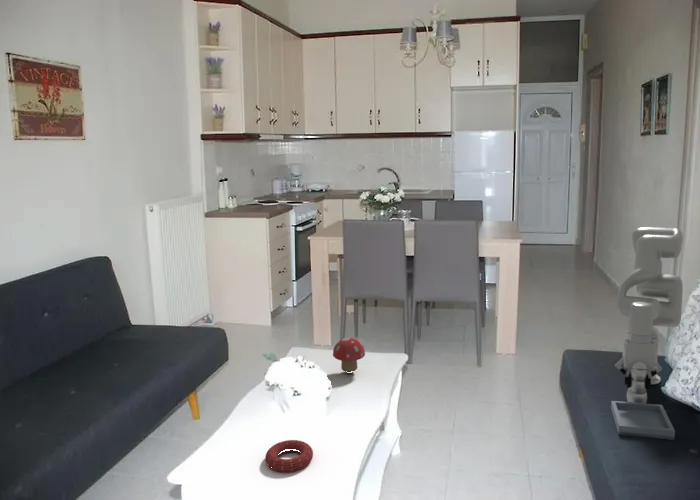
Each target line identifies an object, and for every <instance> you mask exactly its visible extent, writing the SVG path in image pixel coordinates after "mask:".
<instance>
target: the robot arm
mask: <svg viewBox="0 0 700 500" xmlns="http://www.w3.org/2000/svg"><path fill="white" fill-rule="evenodd" d="M631 235H632V239H631V240H632V246H633V250H634V252H635V258H634V259H635V261H634V266H633V268H634V269H633V271H632V272H631V273H630V274H628V275H627V276H626V277H624V279H623V280H622V281H621V283H620V285H619V286H618V291H617V297H616V312H617V314H618V315H619V316H621V317H624V318H625V317H626V318H628V327H627V329H628V330H627V331H628V332H627V338H626V339H625V340H624V343H623V348H622V354H621V355H622V358H620V359H619V360H618V361H617V362H616V363H615V364H614V366H615V368H616V369H617V370H618V371H620V372H621V373H622V374H623V375H624V385H625V386H626V387H627V389H628V388H630V376H629V374H630V372H631V369H632V366H633V365H634V364H635V363H637V362H642V363H644V364H645V365H646V366H647V378H646V391H648V390H649V389H650V388H649V387H651V386H652V385H658V384H659V383H660V382H661V381H662V380H661V379H662V378H661V376H659V375H658V374H659V373H660V372H661V371H663V368H662V366H661V365H660V364H659V362H658V353H659V351H658V350H659V334H658V333H657V332H656V330H655V329H654V327H663V328H677V327H678V326H680V323H681V320H682V310H683V308H682V307H683V293H684V292H683V291H684V290H683V287H684V286H683V285H684V284H683V280H682V279H681V277H680V276H679V275H676V274H669V273H668V274H667V273H663V272H662V269H663V261H662V259H677V258H679V256H680V254H681V251H682V245H683V242H684V241H683V237H684V236H683V232H682V230H681V229H680V228H676V227H656V226H655V227H654V226H644V227H643V226H642V227H638V228H635V229H634V230H633V231H632V234H631ZM634 286H635V287H636V288H635V289H636V293H637V294H638V296H634V295H633V296H631V295H627V294H628V293H627V292H628V291H629V290H630V289H631V288H633V287H634ZM658 299H663V300H667V301H663V300H662V301H661V300H658ZM622 365H623V367H622Z"/></svg>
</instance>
